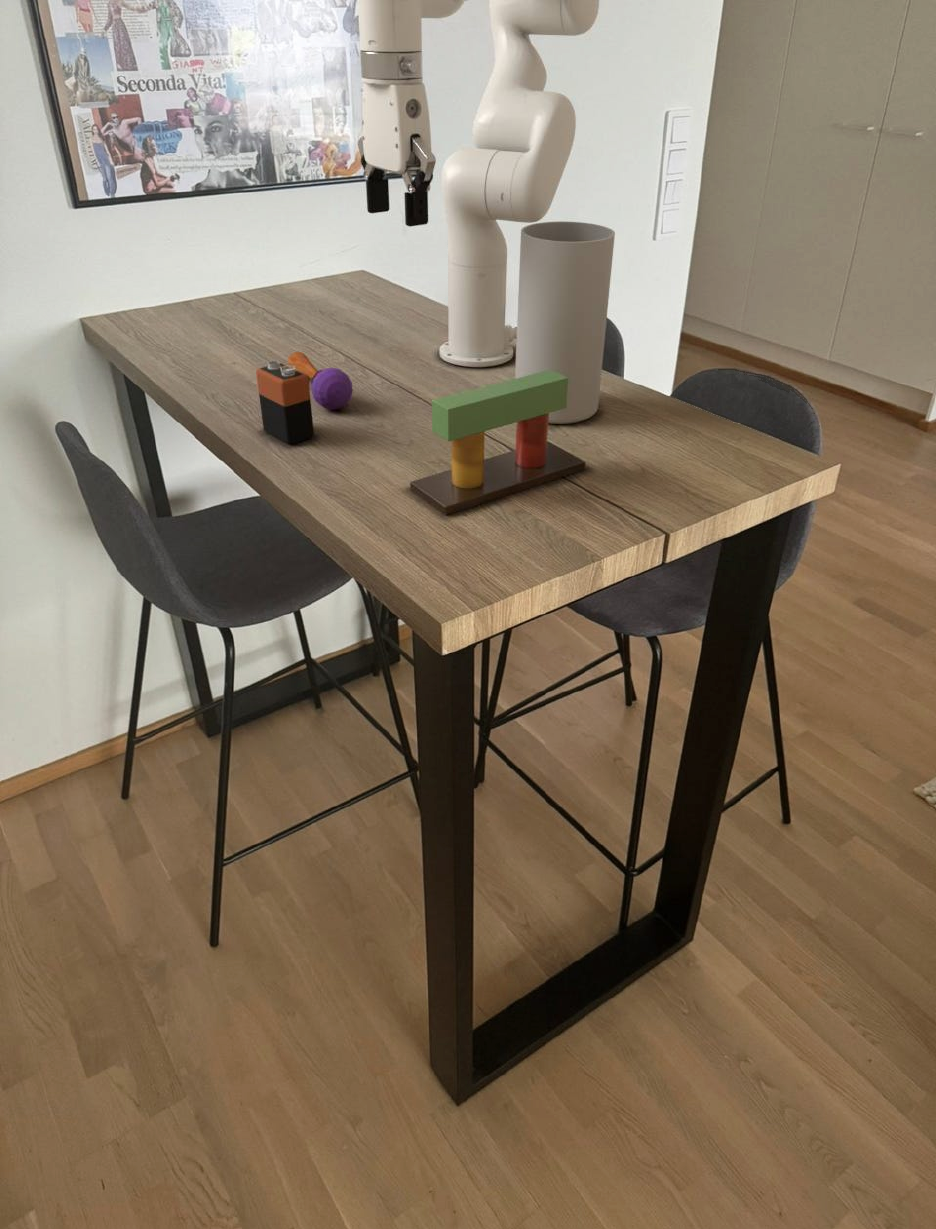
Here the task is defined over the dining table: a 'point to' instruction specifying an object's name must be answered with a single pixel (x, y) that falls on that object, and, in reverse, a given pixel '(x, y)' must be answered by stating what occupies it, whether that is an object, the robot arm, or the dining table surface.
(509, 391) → the green bar
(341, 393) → the kendama
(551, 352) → the cylinder vase
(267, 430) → the battery
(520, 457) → the rod stand
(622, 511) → the dining table surface
